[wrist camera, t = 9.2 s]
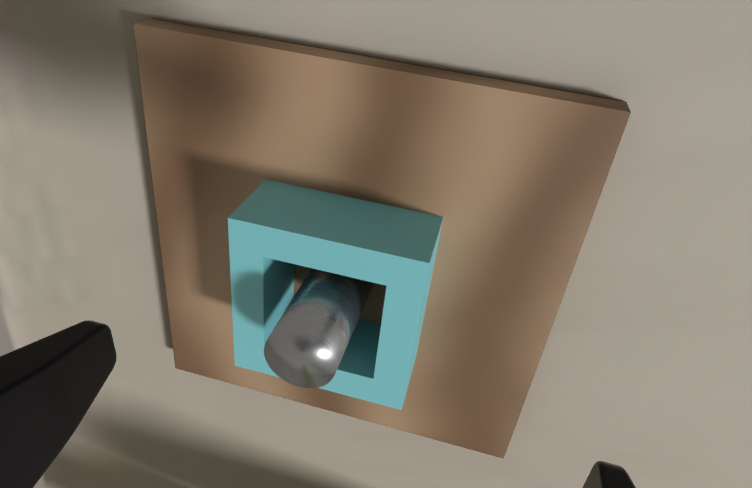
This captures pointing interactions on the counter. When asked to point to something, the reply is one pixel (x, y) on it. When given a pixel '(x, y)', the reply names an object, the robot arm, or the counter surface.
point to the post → (316, 328)
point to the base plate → (384, 186)
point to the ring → (339, 256)
